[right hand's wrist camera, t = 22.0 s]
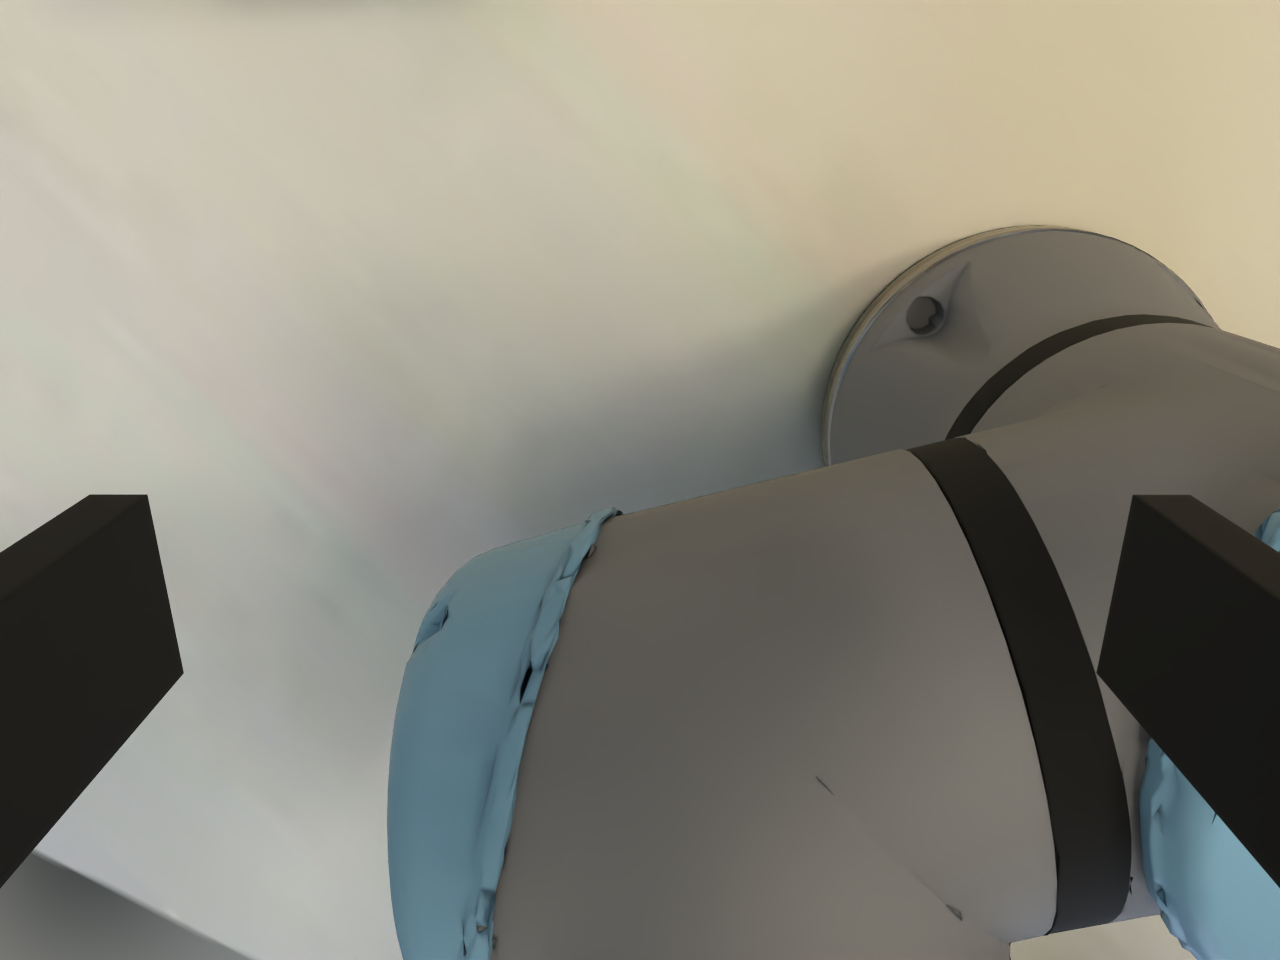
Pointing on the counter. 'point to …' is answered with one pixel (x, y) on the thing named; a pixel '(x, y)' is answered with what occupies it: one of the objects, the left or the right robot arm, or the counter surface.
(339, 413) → the counter surface
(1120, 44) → the counter surface
